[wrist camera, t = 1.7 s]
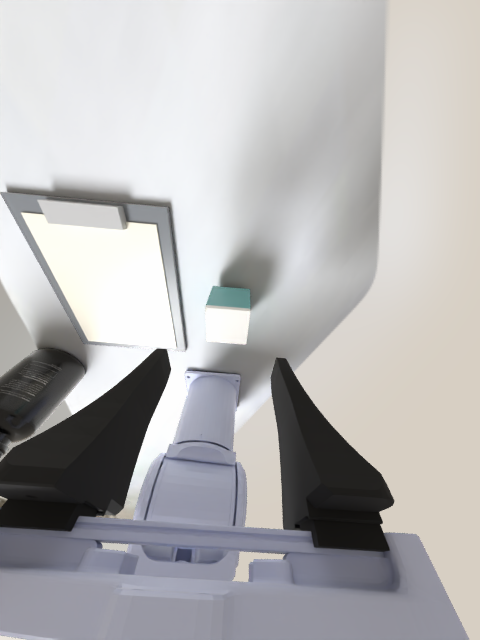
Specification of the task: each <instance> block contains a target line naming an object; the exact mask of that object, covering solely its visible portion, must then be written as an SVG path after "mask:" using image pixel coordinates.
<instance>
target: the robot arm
mask: <svg viewBox="0 0 480 640" xmlns="http://www.w3.org/2000/svg"><path fill="white" fill-rule="evenodd" d="M170 372H171V367H170V362H169V357H168V353H167V349H161V348H157V349H156V350H155V351H154V352H153V353H152V354H150V355H149V356H148V357H147V358H146V359H145V360H144V361H143V362H142V363H141V364H140V365H139V366H138V367H136V368H135V369H134V370H133V371H132V372H131V373H130V374H129V375H127V376H126V377H125V378H124V379H123V380H121V381H120V382H119V383H118V384H117V385H115V386H114V387H113V388H112V389H110V390H109V391H108V392H106V393H105V394H104V395H102V396H101V397H99V398H98V399H97V400H95V401H94V402H92V403H91V404H89V405H88V406H86V407H85V408H83V409H82V410H80V411H78V412H77V413H75V414H74V415H72V416H71V417H69V418H67V419H66V420H64V421H62V422H60V423H59V424H57V425H55V426H53V427H52V428H50V429H48V430H46V431H44V432H43V433H41V434H39V435H37V436H35V437H33V438H31V439H30V440H27V441H25V442H23V443H21V444H20V445H18V446H16V447H14V448H12V450H11V451H10V452H9V453H8V454H7V455H6V456H5V457H4V458H3V459H2V461H1V462H0V496H2V497H4V498H7V499H8V500H7V501H6V502H5V503H4V505H3V506H2V507H0V635H1V636H7V637H14V638H21V639H27V640H469V638H468V636H467V634H466V632H465V630H464V628H463V626H462V623H461V621H460V619H459V617H458V615H457V613H456V611H455V609H454V607H453V605H452V603H451V601H450V599H449V597H448V595H447V593H446V591H445V589H444V587H443V585H442V583H441V581H440V579H439V577H438V575H437V573H436V571H435V569H434V567H433V564H432V562H431V560H430V558H429V556H428V554H427V552H426V550H425V548H424V546H423V544H422V542H421V540H420V538H419V536H417V535H416V534H405V533H383V531H382V528H381V526H380V524H382V523H383V521H382V519H381V517H380V514H379V512H380V511H382V510H384V509H387V508H389V507H391V506H393V504H394V499H393V497H392V495H391V493H390V490H389V488H388V487H387V484H386V482H385V480H384V479H383V477H382V475H381V473H380V472H378V471H377V470H376V469H375V468H374V467H373V466H372V465H371V464H370V463H368V462H367V461H366V460H365V459H364V458H363V457H362V456H361V455H360V454H359V453H358V452H357V451H356V450H355V449H354V448H353V447H351V446H350V445H349V444H348V443H347V441H346V440H345V439H344V438H343V437H342V436H341V435H340V434H339V433H338V432H337V431H336V430H335V429H334V428H333V426H331V424H330V423H329V422H328V421H327V420H326V418H325V417H324V416H323V415H322V413H321V412H320V411H319V410H318V408H317V407H316V406H315V404H314V403H313V402H312V400H311V399H310V398H309V396H308V395H307V393H306V392H305V391H304V389H303V387H302V386H301V384H300V382H299V381H298V379H297V378H296V376H295V374H294V372H293V371H292V369H291V367H290V365H289V363H288V362H287V360H286V359H285V358H276V360H275V364H274V368H273V371H272V375H271V390H272V398H273V404H274V410H275V415H276V422H277V428H278V436H279V449H280V464H281V483H282V508H283V528H284V530H282V529H266V528H251V527H244V526H245V519H246V506H247V482H246V474H245V470H244V469H243V467H242V465H241V463H240V462H235V460H236V452H233V439H234V422H235V412H236V411H237V403H238V395H239V387H240V379H241V376H240V375H237V374H225V373H212V372H199V371H186V372H185V380H186V387H187V397H186V400H185V403H184V407H183V410H182V414H181V417H180V420H179V424H178V427H177V430H176V434H175V437H174V441H173V444H169V447H168V450H167V453H161V454H160V455H159V456H158V457H157V458H155V459H154V460H153V462H152V464H151V465H150V468H149V470H148V472H147V474H146V477H145V480H144V482H143V485H142V488H141V491H140V494H139V497H138V501H137V504H136V508H135V512H134V517H133V520H131V519H116V518H101V517H96V516H104V515H116V514H118V513H119V512H120V511H121V510H122V509H123V508H124V504H125V500H126V496H127V493H128V489H129V485H130V482H131V478H132V475H133V472H134V468H135V465H136V462H137V458H138V455H139V452H140V449H141V446H142V443H143V440H144V437H145V434H146V431H147V428H148V425H149V423H150V420H151V418H152V416H153V413H154V411H155V409H156V407H157V405H158V402H159V400H160V398H161V396H162V393H163V391H164V389H165V387H166V384H167V381H168V378H169V375H170ZM100 542H104V543H121V544H129V546H128V549H127V553H126V552H125V551H118V550H108V549H102V544H101V543H100ZM240 551H244V552H260V553H275V554H276V553H277V554H286V555H285V556H284V557H283V560H277V559H272V560H271V559H254V561H253V562H251V563H250V564H249V582H237V581H232V580H233V579H234V577H235V572H236V571H235V570H236V567H237V566H238V561H239V552H240Z"/></svg>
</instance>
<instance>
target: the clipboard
mask: <svg viewBox="0 0 480 640" xmlns="http://www.w3.org/2000/svg"><path fill="white" fill-rule="evenodd" d="M0 194H1V195H2V197H3V199H4V201H5V203H6V204H7V206H8V208H9V210H10V212H11V213H12V215H13V217H14V219H15V221H16V223H17V224H18V226H19V228H20V230H21V232H22V233H23V235H24V237H25V239H26V241H27V242H28V244H29V246H30V248H31V250H32V251H33V253H34V255H35V257H36V259H37V260H38V262H39V264H40V266H41V268H42V270H43V271H44V273H45V275H46V277H47V279H48V280H49V282H50V284H51V286H52V288H53V289H54V291H55V293H56V295H57V297H58V298H59V300H60V302H61V304H62V306H63V308H64V309H65V311H66V313H67V315H68V317H69V318H70V320H71V322H72V324H73V326H74V327H75V329H76V331H77V333H78V335H79V336H80V338H81V340H82V342H83V344H94V345H106V346H118V347H131V348H143V349H157V348H161V349H167V350H168V351H181V352H185V351H186V342H185V334H184V326H183V318H182V310H181V302H180V293H179V285H178V277H177V269H176V261H175V253H174V245H173V237H172V229H171V221H170V213H169V207H163V206H153V205H142V204H131V203H120V202H109V201H98V200H88V199H77V198H66V197H55V196H44V195H34V194H23V193H12V192H0Z"/></svg>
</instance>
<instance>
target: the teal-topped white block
mask: <svg viewBox="0 0 480 640" xmlns="http://www.w3.org/2000/svg"><path fill="white" fill-rule="evenodd" d="M250 312H251V309H250V289H242V288H230V287H219V286H213V287H212V290H211V293H210V296H209V298H208V301H207V304H206V307H205V315H206V342H218V343H231V344H244V345H246V342H247V335H248V327H249V319H250Z"/></svg>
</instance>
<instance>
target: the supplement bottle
mask: <svg viewBox="0 0 480 640" xmlns="http://www.w3.org/2000/svg"><path fill="white" fill-rule="evenodd" d="M84 374H85V369H84V367H83V365H82V364H81V362H80V361H78V360H77V359H76V358H75V357H73V356H71V355H70V354H68V353H65V352H63V351H60V350H56V349H50V348H44V349H38V350H36V351H34V352H33V353H31V354H30V355H28V356H27V357H26V358H24V359H23V360H22V361H21V362H19V363H18V364H17V365H15V366H14V367H13V368H12V369H10V370H9V371H8V372H6V373H5V374H4V375H2V376H1V377H0V457H1V456H2V455H4V454H5V453H6V452H7V451H8V450H9V448H8V446H9V445H10V444H11V443H14V442H19V441H22V440H25V439H27V438H29V437H31V436H32V435H34V434H35V433H36V432H37V431H38V429H39V428H40V427H41V426H42V425H43V424H44V423H45V421H46V420H47V419H48V418H49V417H50V416H51V414H52V413H53V412H54V411H55V410H56V409H57V407H58V406H59V405H60V404H61V403H62V402H63V400H64V399H65V398H66V397H67V396H68V395H69V393H70V392H71V391H72V390H73V389H74V388H75V386H76V385H77V384H78V383H79V382H80V380H81V379H82V378H83V377H84Z"/></svg>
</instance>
